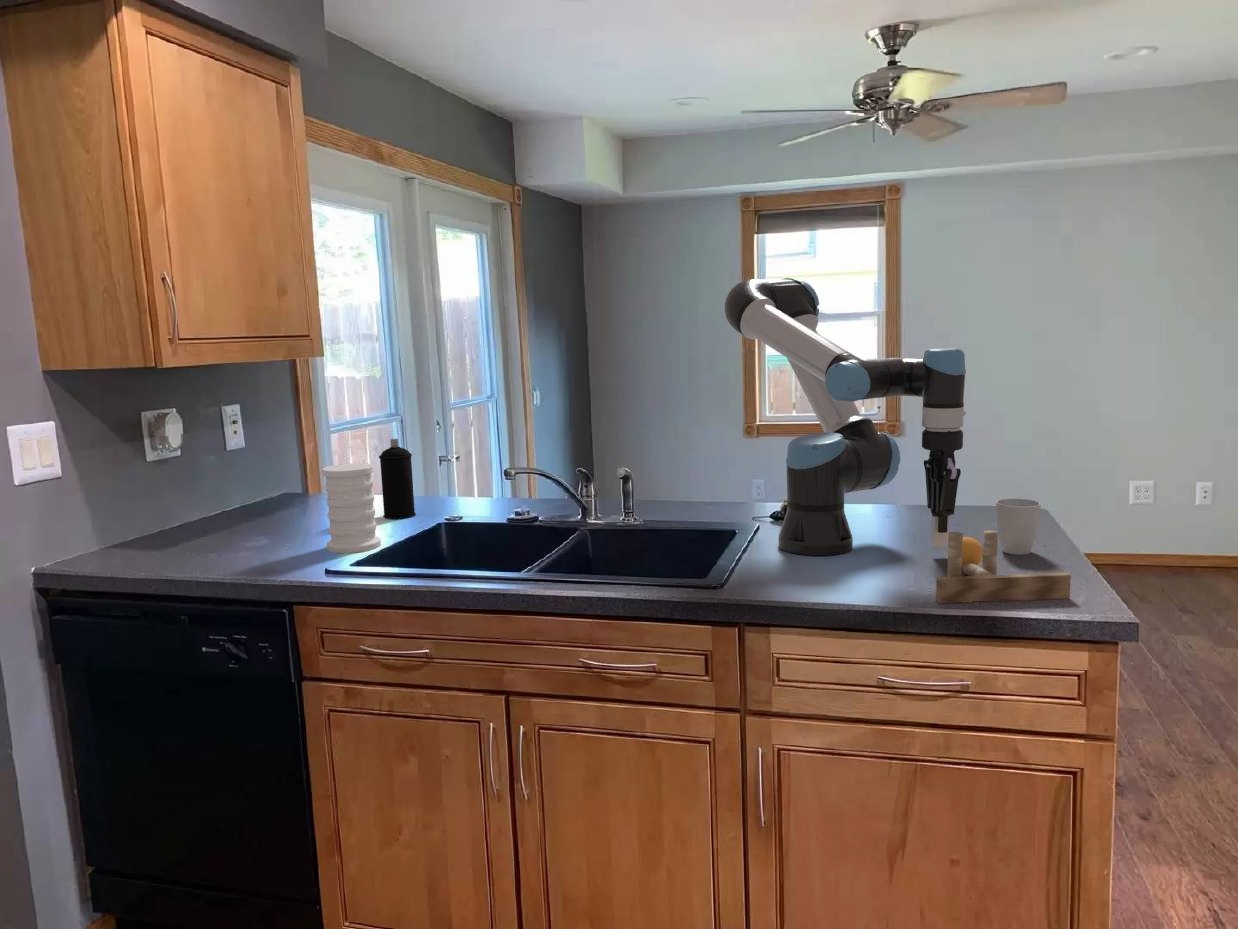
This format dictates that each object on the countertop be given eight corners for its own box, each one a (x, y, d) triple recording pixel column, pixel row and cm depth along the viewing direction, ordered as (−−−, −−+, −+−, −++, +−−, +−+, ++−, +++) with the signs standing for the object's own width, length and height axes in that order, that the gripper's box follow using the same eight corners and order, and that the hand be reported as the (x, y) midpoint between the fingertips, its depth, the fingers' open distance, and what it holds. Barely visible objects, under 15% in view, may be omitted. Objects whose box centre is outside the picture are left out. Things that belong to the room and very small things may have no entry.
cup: (1044, 550, 183) (1046, 501, 182) (1030, 558, 177) (1032, 508, 176) (1003, 544, 189) (1005, 497, 187) (988, 552, 183) (989, 503, 181)
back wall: (939, 603, 152) (940, 580, 151) (935, 600, 154) (936, 577, 153) (1069, 598, 153) (1070, 575, 152) (1064, 595, 154) (1065, 572, 154)
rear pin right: (950, 581, 164) (951, 535, 163) (945, 577, 167) (946, 532, 165) (963, 580, 164) (964, 534, 163) (958, 577, 167) (959, 531, 165)
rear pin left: (985, 580, 164) (987, 533, 163) (979, 576, 167) (981, 530, 165) (998, 579, 164) (1000, 533, 163) (992, 575, 167) (994, 530, 165)
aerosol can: (411, 519, 231) (406, 440, 227) (379, 520, 231) (373, 441, 228) (419, 512, 239) (414, 436, 236) (387, 513, 239) (382, 437, 236)
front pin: (960, 571, 168) (983, 584, 160) (967, 560, 168) (990, 572, 159) (970, 577, 168) (994, 590, 160) (977, 565, 168) (1001, 578, 160)
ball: (953, 527, 172) (938, 551, 175) (965, 548, 167) (949, 572, 170) (981, 533, 173) (966, 556, 176) (994, 554, 168) (978, 577, 171)
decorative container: (369, 538, 211) (364, 461, 209) (388, 547, 202) (383, 467, 199) (319, 546, 205) (313, 467, 202) (337, 556, 195) (330, 473, 193)
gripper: (975, 432, 170) (971, 555, 174) (948, 424, 183) (945, 538, 187) (936, 433, 170) (933, 556, 174) (911, 425, 183) (909, 540, 187)
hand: (939, 547), depth 180 cm, fingers closed
